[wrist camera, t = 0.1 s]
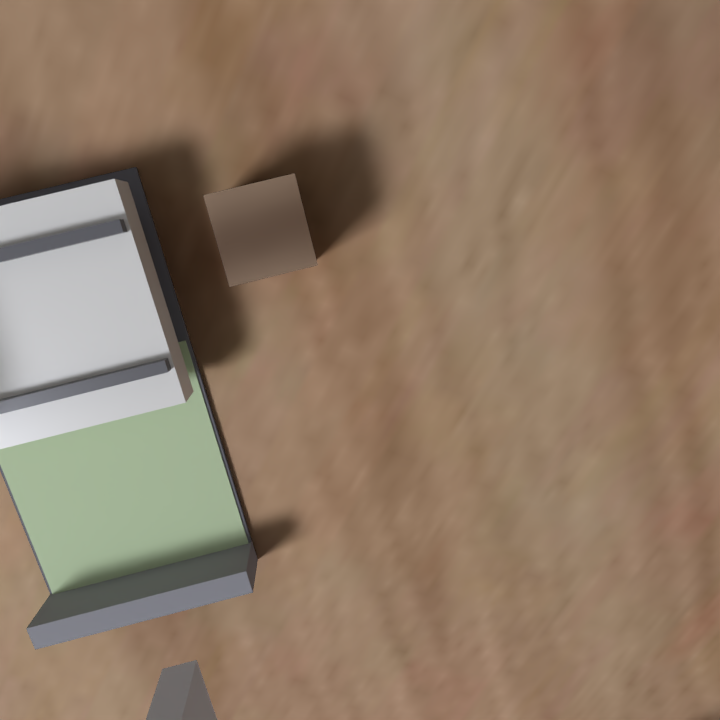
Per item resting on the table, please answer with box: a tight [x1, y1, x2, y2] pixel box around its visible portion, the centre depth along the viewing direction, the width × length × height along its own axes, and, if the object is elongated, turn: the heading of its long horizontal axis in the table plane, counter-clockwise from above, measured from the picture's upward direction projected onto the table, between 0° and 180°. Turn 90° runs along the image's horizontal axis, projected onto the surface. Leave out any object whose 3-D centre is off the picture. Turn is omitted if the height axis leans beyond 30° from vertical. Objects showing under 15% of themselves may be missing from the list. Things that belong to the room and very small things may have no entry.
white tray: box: [0, 179, 194, 449], centre depth 33 cm, size 13×15×10 cm
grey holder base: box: [0, 167, 258, 649], centre depth 38 cm, size 28×14×4 cm, turn 13°
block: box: [203, 173, 318, 287], centre depth 35 cm, size 5×5×6 cm
